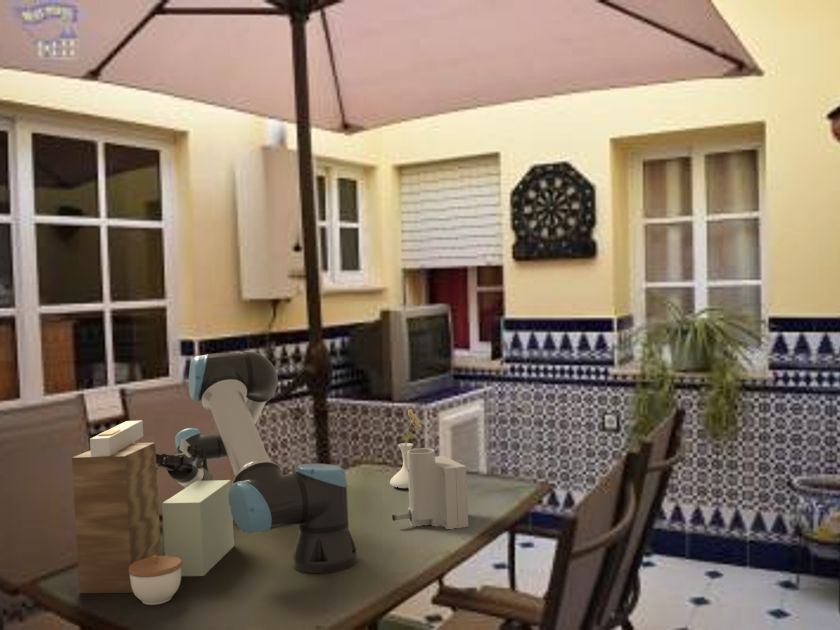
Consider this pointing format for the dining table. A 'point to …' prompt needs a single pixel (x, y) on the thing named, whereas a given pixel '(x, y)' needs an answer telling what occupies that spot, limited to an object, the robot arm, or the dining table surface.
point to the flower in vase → (405, 454)
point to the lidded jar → (155, 578)
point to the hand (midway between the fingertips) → (155, 444)
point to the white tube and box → (435, 490)
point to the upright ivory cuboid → (199, 526)
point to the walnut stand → (115, 516)
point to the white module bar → (116, 438)
